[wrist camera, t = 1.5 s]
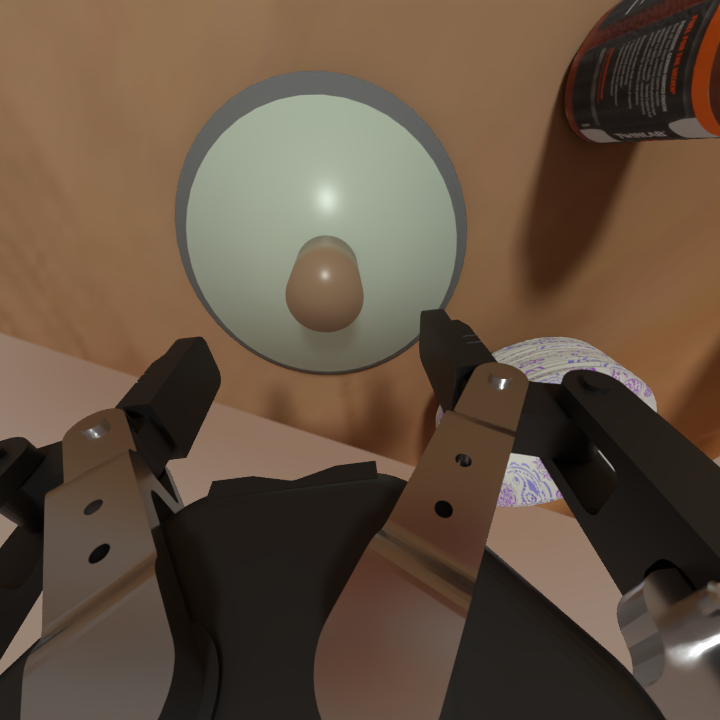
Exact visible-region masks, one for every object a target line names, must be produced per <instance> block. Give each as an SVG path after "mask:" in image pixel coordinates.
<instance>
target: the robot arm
mask: <svg viewBox="0 0 720 720" xmlns="http://www.w3.org/2000/svg"><path fill="white" fill-rule="evenodd" d="M419 352H420V358H421V362H422V364H423V367H424V369H425V371H426V374H427V376H428V378H429V381H430V383H431V385H432V387H433V390H434V392H435V394H436V397H437V399H438V401H439V404H440V406H441V408H442V411H443V413H444V416H443V418H442V419H441V421H440V423H439V425H438V427H437V429H436V431H435V433H434V434H433V436H432V438H431V440H430V442H429V444H428V446H427V447H426V449H425V451H424V453H423V455H422V457H421V459H420V460H419V462H418V464H417V466H416V468H415V470H414V472H413V474H412V476H411V477H410V479H409V481H408V482H407V481H405V480H402V479H400V478H397V477H395V476H390V475H387V474H380V473H377V469H376V462H375V461H369V462H362V463H354V464H346V465H338V466H334V467H331V468H328V469H325V470H323V471H320V472H317V473H314V474H312V475H309V476H306V477H303V478H300V479H298V480H293V481H289V480H280V479H271V478H264V477H255V476H251V477H243V478H235V479H227V480H219V481H213V482H212V484H211V487H210V490H209V493H208V496H206V497H204V498H201V499H199V500H197V501H195V502H193V503H192V504H189V505H188V506H186V507H184V505H183V502H182V499H181V497H180V495H179V492H178V490H177V487H176V485H175V482H174V480H173V477H172V475H171V473H170V471H169V470H168V468H167V467H166V464H167V462H168V461H169V460H172V459H180V458H186V457H187V455H188V453H189V451H190V449H191V447H192V444H193V442H194V440H195V438H196V436H197V434H198V432H199V430H200V427H201V425H202V423H203V421H204V419H205V417H206V415H207V412H208V411H209V408H210V406H211V404H212V402H213V400H214V398H215V396H216V394H217V391H218V389H219V387H220V383H221V376H220V372H219V369H218V367H217V365H216V363H215V360H214V358H213V356H212V354H211V352H210V350H209V347H208V345H207V343H206V341H205V340H204V339H203V338H202V337H191V338H183V339H178V340H176V341H175V343H174V344H173V345H172V346H171V348H170V349H169V350H168V351H167V352H166V354H165V355H163V356H162V357H160V358H159V359H158V360H156V361H155V362H153V363H152V364H151V365H150V367H149V368H148V369H147V370H146V371H145V373H144V375H142V376H141V377H140V378H139V380H138V383H135V384H134V386H133V387H132V388H131V389H130V390H129V392H128V393H127V394H126V395H125V396H124V398H123V399H122V400H121V401H120V402H119V403H118V405H117V406H116V407H115V408H113V409H106V410H102V411H99V412H96V413H94V414H91V415H89V416H87V417H86V418H84V419H82V420H81V421H79V422H78V423H76V424H75V425H74V426H72V428H70V430H68V431H67V433H66V434H65V436H64V437H63V440H62V441H60V442H56V443H54V444H50V445H47V446H44V447H41V448H38V449H37V448H36V447H35V446H34V445H32V444H31V443H30V442H29V441H28V440H27V439H25V438H23V437H14V438H9V439H6V440H2V441H0V514H2V515H3V516H5V517H6V518H8V519H9V520H11V521H13V522H14V523H16V524H17V525H18V526H17V528H16V529H15V530H14V531H13V533H12V534H11V535H10V536H9V538H8V539H7V540H6V542H5V543H4V544H3V545H2V547H1V548H0V659H1V658H2V656H3V654H4V653H5V651H6V649H7V648H8V646H9V644H10V643H11V641H12V640H13V638H14V636H15V635H16V633H17V631H18V630H19V628H20V626H21V625H22V623H23V622H24V620H25V618H26V617H27V615H28V613H29V612H30V610H31V608H32V607H33V605H34V604H35V602H36V600H37V599H38V597H39V595H40V594H41V592H42V590H43V606H42V634H41V638H40V639H38V640H37V641H36V642H35V643H34V644H33V645H32V646H31V647H30V648H29V649H28V650H27V651H26V652H25V653H23V654H22V655H21V656H20V657H19V658H18V659H17V660H16V661H15V662H14V663H13V664H12V665H11V666H10V667H9V668H7V669H6V670H5V671H4V672H3V673H2V674H1V675H0V720H720V467H719V466H718V465H717V464H715V463H714V462H713V461H712V460H711V459H710V458H708V457H707V456H706V455H705V454H704V453H703V452H702V451H700V450H699V449H698V448H697V447H696V446H695V445H693V444H692V443H691V442H690V441H689V440H688V439H686V438H685V437H684V436H683V435H682V434H681V433H680V432H678V431H677V430H676V429H675V428H674V427H673V426H671V425H670V424H669V423H668V422H667V421H666V420H665V419H663V418H662V417H661V416H660V415H659V414H658V413H656V412H655V411H654V410H653V409H652V408H651V407H649V406H648V405H647V404H646V403H645V402H644V401H643V400H641V399H640V398H639V397H638V396H637V395H636V394H634V393H633V392H632V391H631V390H630V389H629V388H627V387H626V386H625V385H624V384H623V383H621V382H620V381H619V380H617V379H615V378H614V377H612V376H610V375H607V374H604V373H601V372H598V371H593V370H586V369H577V370H572V371H569V372H567V373H566V374H565V375H564V376H563V379H562V381H561V384H554V383H543V382H534V381H528V378H527V376H526V375H525V374H524V373H523V372H522V371H521V370H519V369H518V368H516V367H514V366H511V365H508V364H504V363H498V362H497V360H496V359H495V358H494V357H493V355H492V354H491V353H490V352H489V350H488V349H487V348H486V347H485V345H484V344H483V343H482V342H481V340H480V339H479V338H478V337H477V335H475V333H474V332H473V330H472V329H471V328H470V327H469V326H468V325H466V324H465V323H463V322H461V321H459V320H451V319H450V318H449V316H448V315H447V314H446V312H445V311H444V310H443V309H442V308H441V309H432V310H424V311H421V315H420V339H419ZM599 450H600V452H601V453H602V454H603V455H604V457H605V458H606V459H607V460H608V461H609V463H610V464H611V465H612V467H613V469H614V470H613V469H612V468H611V466H610V465H609V464H608V463H607V461H606V460H605V459H604V458H603V457H602V455H601V454H600V453H599V452H598V451H599ZM511 453H514V454H521V455H527V456H534V457H539V458H540V460H541V462H542V463H543V465H544V467H545V468H546V470H547V472H548V473H549V475H550V477H551V478H552V480H553V481H554V483H555V485H556V486H557V488H558V490H559V491H560V493H561V495H562V496H563V498H564V500H565V501H566V503H567V505H568V506H569V508H570V509H571V511H572V513H573V514H574V516H575V518H576V519H577V521H578V523H579V524H580V526H581V527H582V529H583V531H584V533H585V534H586V536H587V537H588V539H589V541H590V542H591V544H592V546H593V547H594V549H595V551H596V552H597V554H598V556H599V557H600V559H601V561H602V562H603V564H604V566H605V567H606V569H607V570H608V572H609V574H610V575H611V577H612V579H613V580H614V582H615V584H616V585H617V587H618V589H619V590H620V592H621V594H622V595H623V597H622V598H621V599H620V601H619V603H618V606H617V619H618V624H619V627H620V630H621V633H622V635H623V637H624V639H625V642H626V644H627V648H628V650H629V652H630V655H631V659H632V665H633V675H632V674H631V673H630V672H629V671H628V670H627V669H626V668H625V667H624V665H622V664H621V663H620V662H619V661H618V660H617V659H616V658H615V657H614V656H613V655H612V654H611V653H610V652H609V651H607V650H606V649H605V648H604V647H603V646H601V644H599V643H598V642H597V641H596V640H595V639H594V638H592V637H591V636H590V635H589V634H588V633H587V632H585V631H584V630H583V629H582V628H581V627H580V626H579V625H577V624H576V623H575V622H574V621H573V620H572V619H570V618H569V617H568V616H567V615H566V614H565V613H564V612H562V611H561V610H560V609H559V608H558V607H557V606H556V605H554V604H553V603H552V602H551V601H550V600H549V599H547V598H546V597H545V596H544V595H543V594H542V593H541V592H539V591H538V590H537V589H536V588H535V587H534V586H532V585H531V584H530V583H529V582H528V581H527V580H525V579H524V578H523V577H522V576H521V575H520V574H519V573H517V572H516V571H515V570H514V569H513V568H512V567H510V566H509V565H508V564H507V563H506V562H505V561H504V560H502V559H501V558H500V557H499V556H498V555H497V554H495V553H494V552H493V551H492V550H491V549H490V548H489V547H487V546H486V542H487V538H488V534H489V530H490V527H491V523H492V520H493V516H494V512H495V509H496V505H497V501H498V498H499V494H500V490H501V487H502V483H503V479H504V476H505V472H506V468H507V465H508V461H509V457H510V454H511Z"/></svg>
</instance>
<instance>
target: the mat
mask: <svg viewBox="0 0 720 720" xmlns="http://www.w3.org/2000/svg"><path fill="white" fill-rule="evenodd" d="M298 95H329V96H336V97H343V98H347V99H350V100H353V101H357V102H360V103H363V104H366V105H368V106H370V107H372V108H374V109H376V110H378V111H380V112H382V113H384V114H386V115H388V116H389V117H390V118H392V119H393V120H394V121H396V122H397V123H398V124H400V125H401V126H403V127H404V128H405V129H406V130H407V131H408V132H409V133H410V134H411V135H412V136H413V137H414V138H415V139H416V140H417V141H418V142H419V143H420V144H421V145H422V146H423V148H424V149H425V150H426V152H427V153H428V154H429V156H430V157H431V158H432V160H433V161H434V163H435V165H436V166H437V168H438V170H439V172H440V174H441V176H442V177H443V179H444V182H445V184H446V187H447V190H448V192H449V195H450V198H451V202H452V206H453V210H454V215H455V222H456V232H457V246H456V258H455V265H454V270H453V274H452V278H451V281H450V285H449V287H448V290H447V292H446V294H445V297H444V299H443V301H442V303H441V305H440V307H439V308H438V309H441V308H442V309H443V310H444V309H445V308H446V306H447V304H448V302H449V301H450V299H451V297H452V295H453V292H454V290H455V288H456V285H457V283H458V280H459V277H460V273H461V270H462V267H463V262H464V256H465V250H466V235H467V223H466V211H465V204H464V199H463V195H462V190H461V186H460V183H459V180H458V177H457V175H456V172H455V169H454V166H453V164H452V162H451V160H450V159H449V157H448V155H447V153H446V151H445V149H444V147H443V145H442V144H441V143H440V141H439V140H438V138H437V137H436V135H435V134H434V133H433V131H432V130H431V128H430V127H429V126H428V125H427V124H426V123H425V122H424V121H423V120H422V119H421V118H420V117H419V116H418V115H417V114H416V113H415V111H414V110H413V109H411V108H410V107H409V106H407V105H406V104H405V103H403V102H402V101H401V100H399V99H398V98H397V97H396V96H394V95H393V94H391V93H389V92H387V91H385V90H383V89H382V88H380V87H378V86H376V85H374V84H372V83H370V82H367V81H364V80H361V79H358V78H355V77H352V76H349V75H345V74H338V73H332V72H326V71H303V72H293V73H288V74H284V75H279V76H274V77H271V78H269V79H266V80H264V81H261V82H259V83H256V84H254V85H251V86H249V87H248V88H246V89H245V90H243V91H242V92H240V93H239V94H237V95H235V96H234V97H232V98H231V99H229V100H228V101H227V102H226V103H225V104H224V105H223V106H222V107H221V108H220V109H219V110H217V111H216V112H215V113H214V114H213V115H212V116H211V118H210V119H209V120H208V121H207V123H206V124H205V125H204V127H203V128H202V129H201V131H200V132H199V133H198V135H197V137H196V139H195V140H194V142H193V144H192V146H191V148H190V150H189V152H188V154H187V156H186V159H185V162H184V165H183V168H182V171H181V174H180V177H179V183H178V188H177V194H176V204H175V226H176V235H177V243H178V247H179V251H180V256H181V260H182V263H183V266H184V268H185V271H186V274H187V276H188V279H189V281H190V283H191V285H192V287H193V289H194V291H195V293H196V295H197V297H198V298H199V300H200V301H201V303H202V304H203V306H204V307H205V309H206V310H207V312H208V313H209V314H210V315H211V316H212V318H213V319H214V320H215V321H216V322H217V324H218V325H219V326H220V327H221V328H222V329H223V330H224V331H225V332H226V333H227V334H229V335H230V336H231V337H232V338H233V339H234V340H236V341H237V342H238V343H240V344H241V345H242V346H243V347H245V348H246V349H248V350H250V351H251V352H253V353H255V354H256V355H258V356H260V357H262V358H264V359H266V360H268V361H270V362H272V363H275V364H278V365H280V366H283V367H286V368H290V369H294V370H298V371H302V372H309V373H317V374H338V373H348V372H354V371H359V370H363V369H367V368H370V367H373V366H376V365H378V364H381V363H383V362H386V361H388V360H390V359H392V358H393V357H395V356H397V355H399V354H401V353H402V352H403V351H405V350H406V349H408V348H409V347H411V346H412V345H413V344H414V343H416V342H417V341H418V340H419V339H420V333H419V335H418V336H417V337H415V338H414V339H413V340H412V341H411V342H410V343H408V344H407V345H406V346H405V347H403V348H402V349H400V350H399V351H397V352H396V353H394V354H393V355H391V356H389V357H387V358H385V359H383V360H381V361H378V362H376V363H373V364H371V365H368V366H364V367H361V368H357V369H351V370H346V371H334V372H324V371H311V370H304V369H300V368H296V367H292V366H288V365H285V364H282V363H280V362H277V361H274V360H272V359H270V358H268V357H266V356H264V355H262V354H260V353H259V352H257V351H256V350H254V349H252V348H251V347H249V346H248V345H247V344H245V343H244V342H243V341H241V340H240V339H239V338H238V337H236V336H235V335H234V334H233V333H232V332H231V331H230V330H229V329H228V328H227V327H226V326H225V325H224V324H223V322H222V321H221V320H220V319H219V317H218V316H217V315H216V314H215V313H214V311H213V309H212V308H211V306H210V305H209V303H208V302H207V300H206V299H205V297H204V295H203V293H202V291H201V289H200V287H199V285H198V282H197V280H196V277H195V274H194V271H193V268H192V265H191V261H190V256H189V252H188V246H187V234H186V219H187V207H188V202H189V196H190V191H191V188H192V185H193V182H194V179H195V177H196V174H197V171H198V169H199V167H200V165H201V163H202V161H203V160H204V158H205V156H206V154H207V152H208V151H209V150H210V148H211V147H212V146H213V144H214V143H215V142H216V141H217V139H218V138H219V137H220V136H221V134H222V133H224V132H225V131H226V130H227V129H228V128H229V127H230V126H231V125H232V124H234V123H235V122H236V121H237V120H238V119H240V118H241V117H243V116H245V115H246V114H248V113H249V112H251V111H253V110H254V109H256V108H258V107H260V106H263V105H265V104H268V103H270V102H273V101H275V100H278V99H283V98H288V97H293V96H298Z"/></svg>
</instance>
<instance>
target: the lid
mask: <svg viewBox="0 0 720 720" xmlns="http://www.w3.org/2000/svg"><path fill="white" fill-rule="evenodd" d="M186 234H187V246H188V252H189V256H190V261H191V265H192V268H193V271H194V274H195V277H196V280H197V282H198V285H199V287H200V289H201V291H202V293H203V295H204V297H205V299H206V300H207V302H208V303H209V305H210V306H211V308H212V309H213V311H214V313H215V314H216V315H217V316H218V317H219V319H220V320H221V321H222V322H223V324H224V325H225V326H226V327H227V328H228V329H229V330H230V331H231V332H232V333H233V334H234V335H235V336H236V337H238V338H239V339H240V340H241V341H243V342H244V343H245V344H247V345H248V346H249V347H251V348H252V349H254V350H256V351H257V352H259V353H260V354H262V355H264V356H266V357H268V358H270V359H272V360H274V361H277V362H280V363H282V364H285V365H288V366H292V367H296V368H300V369H304V370H311V371H324V372H334V371H346V370H351V369H357V368H361V367H364V366H368V365H371V364H373V363H376V362H378V361H381V360H383V359H385V358H387V357H389V356H391V355H393V354H394V353H396V352H397V351H399V350H400V349H402V348H403V347H405V346H406V345H407V344H408V343H410V342H411V341H412V340H413V339H414V338H415V337H417V336H418V335H419V333H420V315H421V311H424V310H432V309H438V308H439V307H440V305H441V303H442V301H443V299H444V297H445V294H446V292H447V290H448V287H449V285H450V281H451V278H452V274H453V270H454V265H455V258H456V246H457V232H456V222H455V215H454V210H453V206H452V202H451V198H450V195H449V192H448V190H447V187H446V184H445V182H444V179H443V177H442V176H441V174H440V172H439V170H438V168H437V166H436V165H435V163H434V161H433V160H432V158H431V157H430V156H429V154H428V153H427V152H426V150H425V149H424V148H423V146H422V145H421V144H420V143H419V142H418V141H417V140H416V139H415V138H414V137H413V136H412V135H411V134H410V133H409V132H408V131H407V130H406V129H405V128H404V127H403V126H401V125H400V124H398V123H397V122H396V121H394V120H393V119H392V118H390V117H389V116H388V115H386V114H384V113H382V112H380V111H378V110H376V109H374V108H372V107H370V106H368V105H366V104H363V103H360V102H357V101H353V100H350V99H347V98H343V97H336V96H329V95H298V96H293V97H288V98H283V99H278V100H275V101H273V102H270V103H268V104H265V105H263V106H260V107H258V108H256V109H254V110H253V111H251V112H249V113H248V114H246V115H245V116H243V117H241V118H240V119H238V120H237V121H236V122H235V123H234V124H232V125H231V126H230V127H229V128H228V129H227V130H226V131H225V132H224V133H222V134H221V136H220V137H219V138H218V139H217V141H216V142H215V143H214V144H213V146H212V147H211V148H210V150H209V151H208V152H207V154H206V156H205V158H204V160H203V161H202V163H201V165H200V167H199V169H198V171H197V174H196V177H195V179H194V182H193V185H192V188H191V191H190V196H189V202H188V207H187V219H186Z"/></svg>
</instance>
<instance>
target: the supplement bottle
mask: <svg viewBox="0 0 720 720" xmlns="http://www.w3.org/2000/svg"><path fill="white" fill-rule="evenodd" d="M565 113H566V118H567V121H568V123H569V125H570V128H571V129H572V130H573V131H574V133H575V134H576V135H577V136H579V137H580V138H582V139H583V140H585V141H589V142H594V143H620V142H640V141H655V140H677V139H679V140H683V139H684V140H687V139H703V138H720V0H622V1H620V2H619V3H617V4H616V5H615V6H614V7H612V8H611V9H610V10H609V11H608V12H606V13H605V14H604V15H603V16H602V17H601V19H600V20H599V21H598V22H597V23H596V24H595V26H594V27H593V28H592V29H591V31H590V32H589V34H588V35H587V37H586V38H585V40H584V42H583V43H582V45H581V47H580V48H579V50H578V52H577V54H576V56H575V58H574V61H573V62H572V65H571V68H570V72H569V75H568V78H567V83H566V89H565Z"/></svg>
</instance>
